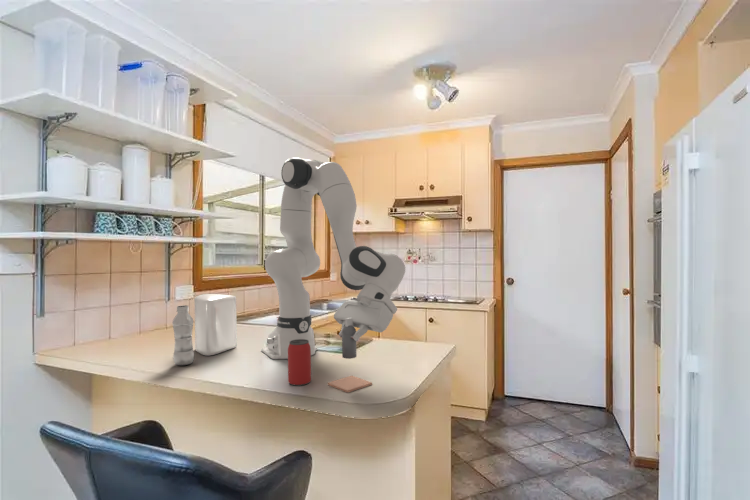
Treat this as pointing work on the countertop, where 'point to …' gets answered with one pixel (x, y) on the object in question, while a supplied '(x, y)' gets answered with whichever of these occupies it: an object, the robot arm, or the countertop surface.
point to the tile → (349, 383)
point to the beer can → (299, 362)
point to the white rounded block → (215, 323)
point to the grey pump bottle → (348, 340)
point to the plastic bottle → (183, 336)
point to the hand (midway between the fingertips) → (347, 338)
